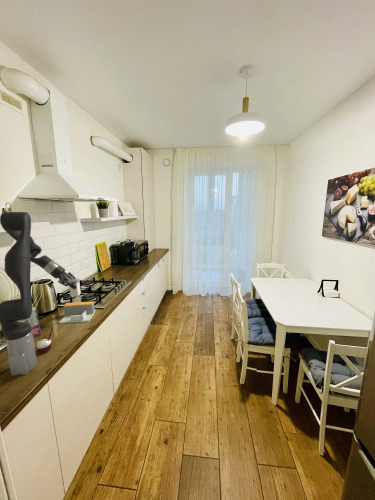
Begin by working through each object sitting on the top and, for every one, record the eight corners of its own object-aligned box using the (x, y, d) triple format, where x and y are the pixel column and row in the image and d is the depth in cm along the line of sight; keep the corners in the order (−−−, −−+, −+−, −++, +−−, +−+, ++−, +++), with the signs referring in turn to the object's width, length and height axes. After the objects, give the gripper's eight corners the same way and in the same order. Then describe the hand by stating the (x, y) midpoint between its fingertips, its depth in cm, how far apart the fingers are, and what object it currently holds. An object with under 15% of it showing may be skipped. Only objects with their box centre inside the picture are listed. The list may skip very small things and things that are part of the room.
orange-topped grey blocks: (89, 321, 133) (87, 309, 131) (59, 323, 131) (57, 311, 129) (95, 311, 146) (94, 300, 145) (68, 312, 144) (67, 302, 142)
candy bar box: (40, 331, 123) (35, 305, 120) (41, 335, 119) (36, 309, 116) (16, 338, 116) (10, 312, 113) (16, 343, 112) (10, 315, 109)
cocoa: (32, 356, 103) (27, 335, 100) (39, 347, 109) (34, 327, 106) (53, 353, 104) (48, 333, 101) (58, 345, 110) (54, 325, 107)
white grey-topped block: (78, 296, 131) (76, 281, 129) (70, 296, 131) (68, 281, 129) (80, 293, 136) (79, 278, 134) (73, 293, 135) (71, 279, 133)
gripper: (52, 268, 121) (76, 286, 125) (63, 262, 135) (85, 278, 139) (44, 277, 122) (68, 295, 126) (56, 270, 135) (77, 286, 139)
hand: (77, 286), depth 132 cm, fingers closed on white grey-topped block, 4 cm apart
